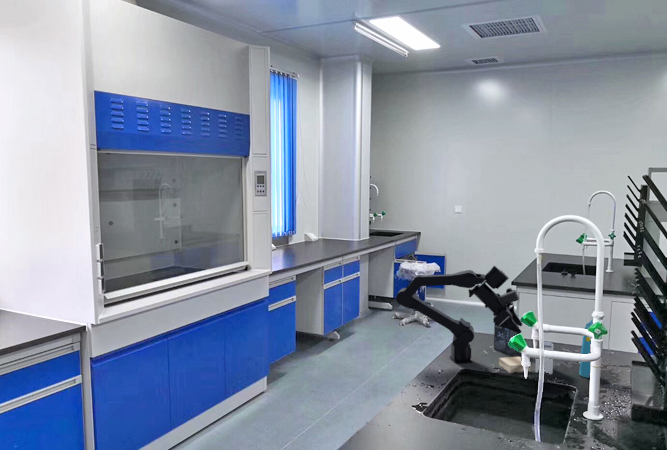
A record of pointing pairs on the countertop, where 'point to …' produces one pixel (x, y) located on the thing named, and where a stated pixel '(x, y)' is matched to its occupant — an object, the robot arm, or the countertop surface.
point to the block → (512, 364)
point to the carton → (546, 359)
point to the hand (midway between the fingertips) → (521, 329)
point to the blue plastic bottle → (585, 350)
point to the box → (503, 339)
